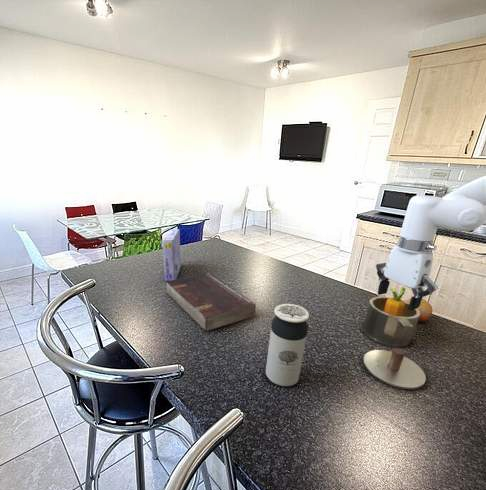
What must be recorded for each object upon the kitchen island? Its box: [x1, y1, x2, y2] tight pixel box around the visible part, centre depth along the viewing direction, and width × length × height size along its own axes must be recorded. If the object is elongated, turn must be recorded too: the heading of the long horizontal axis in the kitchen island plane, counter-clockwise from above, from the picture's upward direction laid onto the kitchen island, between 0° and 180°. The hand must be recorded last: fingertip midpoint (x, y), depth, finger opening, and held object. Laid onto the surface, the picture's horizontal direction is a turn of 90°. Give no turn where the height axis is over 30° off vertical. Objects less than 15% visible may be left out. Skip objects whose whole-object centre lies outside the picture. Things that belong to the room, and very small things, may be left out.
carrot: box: [384, 287, 407, 317], centre depth 85 cm, size 5×5×15 cm
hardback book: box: [165, 272, 257, 332], centre depth 102 cm, size 29×19×5 cm, turn 32°
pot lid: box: [362, 347, 427, 390], centre depth 73 cm, size 14×14×6 cm
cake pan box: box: [161, 228, 182, 281], centre depth 125 cm, size 19×5×18 cm, turn 178°
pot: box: [362, 294, 420, 348], centre depth 87 cm, size 13×18×10 cm
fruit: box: [404, 298, 433, 323], centre depth 96 cm, size 8×8×8 cm
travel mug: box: [265, 303, 310, 387], centre depth 68 cm, size 8×8×18 cm
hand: (396, 300), depth 84 cm, fingers open, 9 cm apart
